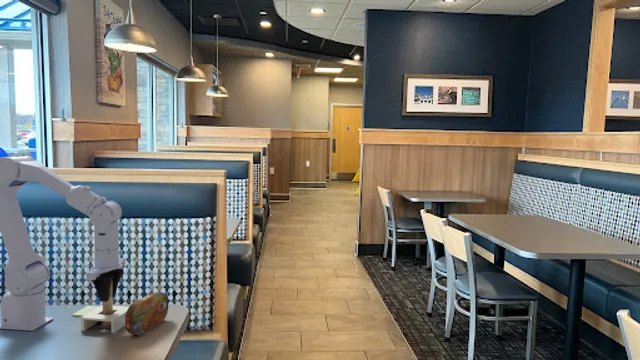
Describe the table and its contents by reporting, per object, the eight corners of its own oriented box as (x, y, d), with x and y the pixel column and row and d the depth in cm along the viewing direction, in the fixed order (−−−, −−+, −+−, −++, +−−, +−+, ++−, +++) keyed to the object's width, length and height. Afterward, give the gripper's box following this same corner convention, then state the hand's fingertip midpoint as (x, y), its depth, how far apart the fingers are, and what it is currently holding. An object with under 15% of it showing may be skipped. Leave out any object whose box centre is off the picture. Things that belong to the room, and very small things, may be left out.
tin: (133, 341, 109) (133, 307, 108) (122, 339, 110) (122, 306, 109) (169, 318, 124) (169, 288, 123) (159, 316, 124) (159, 287, 124)
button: (100, 325, 117) (100, 320, 117) (106, 321, 119) (106, 316, 119) (109, 326, 117) (109, 320, 116) (115, 322, 119) (115, 317, 119)
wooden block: (100, 316, 117) (100, 278, 116) (106, 312, 119) (105, 276, 118) (109, 316, 116) (109, 279, 116) (114, 313, 119) (114, 276, 118)
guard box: (81, 330, 114) (80, 317, 114) (101, 317, 123) (101, 304, 123) (114, 333, 113) (114, 319, 113) (132, 319, 122) (132, 307, 122)
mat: (71, 316, 123) (71, 314, 123) (87, 306, 130) (87, 305, 130) (95, 317, 123) (95, 316, 123) (110, 308, 130) (110, 307, 130)
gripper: (104, 255, 109) (105, 310, 110) (135, 242, 123) (136, 290, 124) (77, 254, 109) (78, 308, 111) (111, 241, 124) (112, 289, 125)
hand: (107, 299), depth 117 cm, fingers closed on wooden block, 2 cm apart
